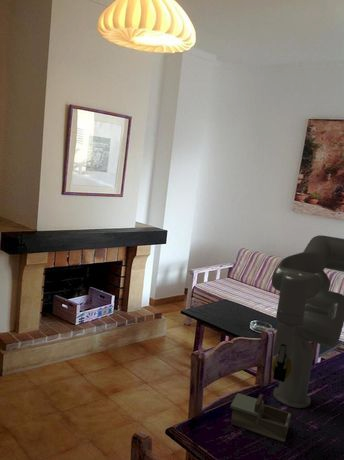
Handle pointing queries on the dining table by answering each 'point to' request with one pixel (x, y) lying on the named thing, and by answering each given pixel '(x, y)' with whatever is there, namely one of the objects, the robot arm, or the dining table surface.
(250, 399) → the cover
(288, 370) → the lemon
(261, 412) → the beige box
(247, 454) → the dining table surface
